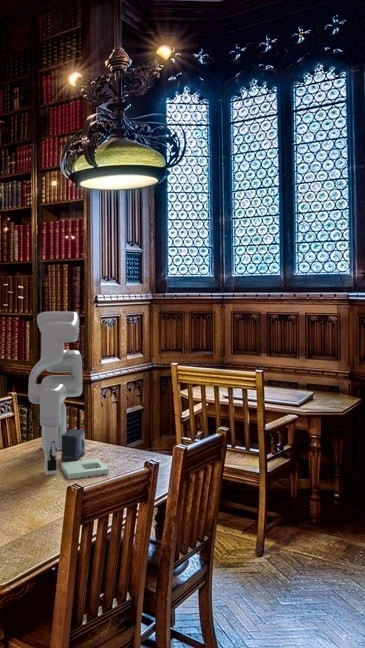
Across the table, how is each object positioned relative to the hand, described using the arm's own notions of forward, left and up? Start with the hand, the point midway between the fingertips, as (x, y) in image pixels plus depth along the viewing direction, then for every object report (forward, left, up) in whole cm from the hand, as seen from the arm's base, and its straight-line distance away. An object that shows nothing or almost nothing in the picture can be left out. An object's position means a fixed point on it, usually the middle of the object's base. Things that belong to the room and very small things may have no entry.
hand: (51, 468), depth 209 cm
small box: (-16, +12, -2) cm, 20 cm away
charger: (0, 0, -2) cm, 2 cm away
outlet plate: (+3, +12, -2) cm, 12 cm away
